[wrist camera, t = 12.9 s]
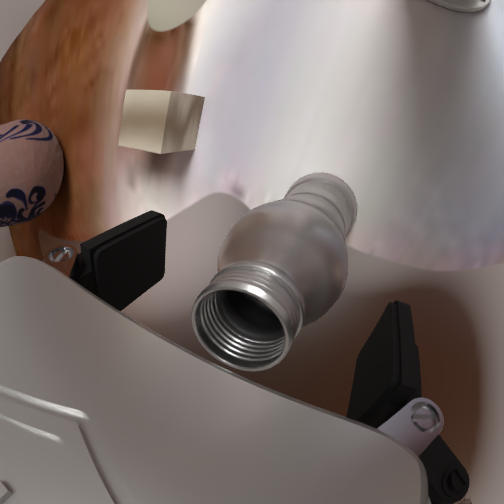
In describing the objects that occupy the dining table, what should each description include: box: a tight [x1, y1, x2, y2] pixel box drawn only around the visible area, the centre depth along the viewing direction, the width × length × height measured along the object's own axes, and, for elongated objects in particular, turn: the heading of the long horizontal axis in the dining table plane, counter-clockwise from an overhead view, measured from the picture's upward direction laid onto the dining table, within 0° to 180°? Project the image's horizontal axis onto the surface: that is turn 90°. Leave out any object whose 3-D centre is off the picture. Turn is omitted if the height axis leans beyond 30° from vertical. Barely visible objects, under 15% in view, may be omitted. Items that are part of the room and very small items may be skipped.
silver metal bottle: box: [191, 173, 357, 371], centre depth 18 cm, size 6×7×20 cm
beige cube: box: [119, 90, 205, 154], centre depth 26 cm, size 6×6×6 cm
